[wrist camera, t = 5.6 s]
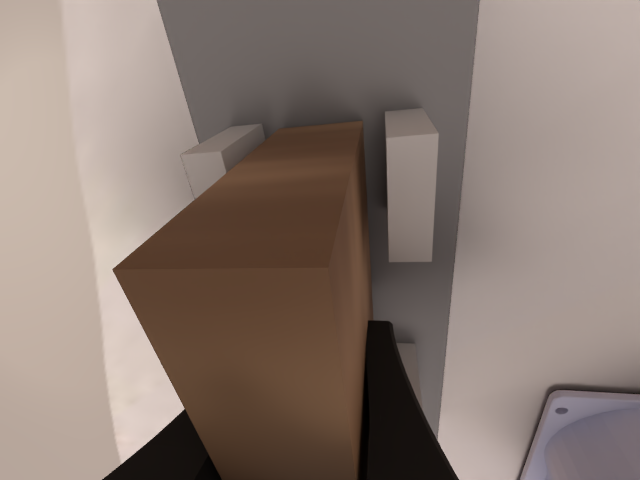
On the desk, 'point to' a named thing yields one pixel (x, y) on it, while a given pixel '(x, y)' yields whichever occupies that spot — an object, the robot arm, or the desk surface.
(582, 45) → the desk surface
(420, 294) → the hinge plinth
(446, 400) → the desk surface
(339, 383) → the door panel
